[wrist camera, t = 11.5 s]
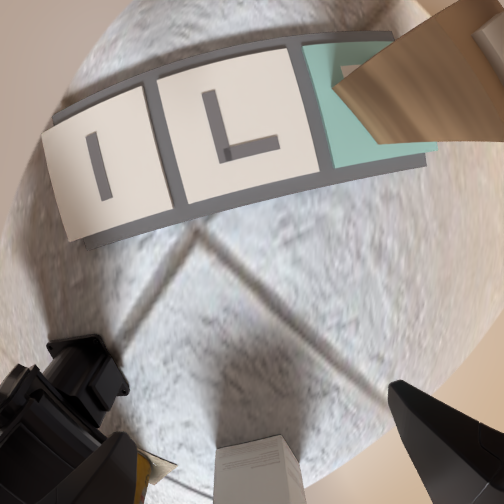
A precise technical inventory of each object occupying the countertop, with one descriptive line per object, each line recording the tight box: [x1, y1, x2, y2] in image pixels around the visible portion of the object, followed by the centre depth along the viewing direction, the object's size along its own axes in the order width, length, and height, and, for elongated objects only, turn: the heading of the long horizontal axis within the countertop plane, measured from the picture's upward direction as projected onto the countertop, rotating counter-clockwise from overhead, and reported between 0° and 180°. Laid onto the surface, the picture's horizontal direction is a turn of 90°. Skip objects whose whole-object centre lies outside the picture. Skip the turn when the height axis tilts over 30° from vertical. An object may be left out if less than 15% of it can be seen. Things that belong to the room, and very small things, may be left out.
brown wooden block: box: [331, 0, 504, 145], centre depth 10 cm, size 4×4×12 cm
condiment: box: [109, 435, 177, 504], centre depth 22 cm, size 7×8×12 cm
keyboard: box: [41, 31, 438, 251], centre depth 17 cm, size 26×10×2 cm, turn 104°
